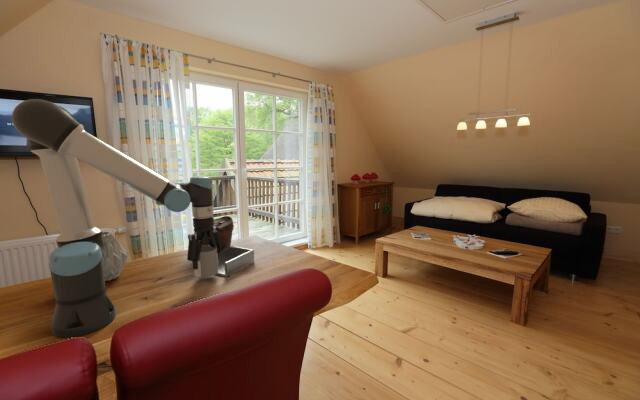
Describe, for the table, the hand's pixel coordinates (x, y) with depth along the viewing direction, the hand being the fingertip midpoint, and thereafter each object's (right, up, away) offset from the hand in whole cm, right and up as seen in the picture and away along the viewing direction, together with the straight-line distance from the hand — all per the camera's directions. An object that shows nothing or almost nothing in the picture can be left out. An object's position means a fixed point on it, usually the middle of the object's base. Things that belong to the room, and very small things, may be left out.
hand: (206, 271), depth 120 cm
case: (-7, +2, +29) cm, 30 cm away
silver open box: (+6, -1, +13) cm, 14 cm away
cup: (0, -1, 0) cm, 1 cm away
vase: (-41, -3, +1) cm, 41 cm away
